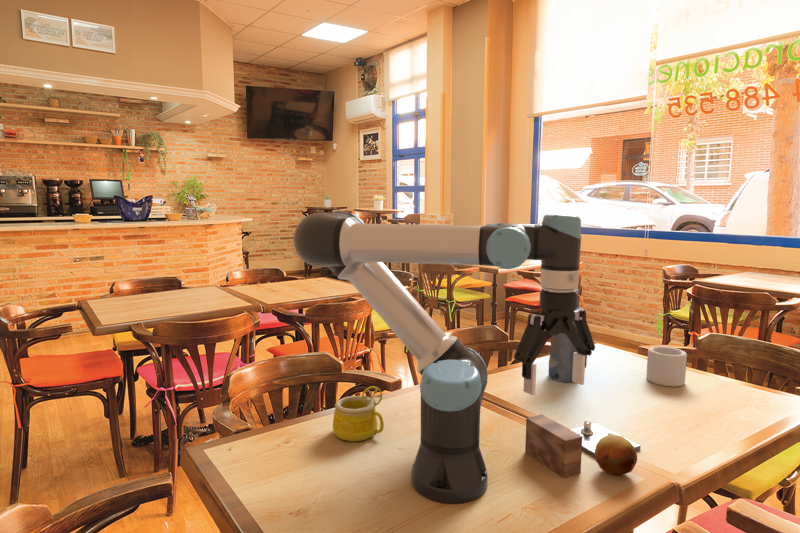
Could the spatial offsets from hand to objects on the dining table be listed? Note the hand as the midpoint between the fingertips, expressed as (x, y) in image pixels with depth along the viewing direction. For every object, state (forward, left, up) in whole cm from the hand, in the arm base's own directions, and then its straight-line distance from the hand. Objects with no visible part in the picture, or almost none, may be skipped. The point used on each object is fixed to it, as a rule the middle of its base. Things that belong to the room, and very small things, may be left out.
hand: (554, 388), depth 106 cm
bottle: (+41, +39, -17) cm, 59 cm away
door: (0, 0, -17) cm, 17 cm away
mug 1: (-33, +30, -17) cm, 48 cm away
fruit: (+9, -9, -17) cm, 21 cm away
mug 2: (+68, +24, -17) cm, 74 cm away
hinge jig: (+16, +2, -17) cm, 23 cm away
